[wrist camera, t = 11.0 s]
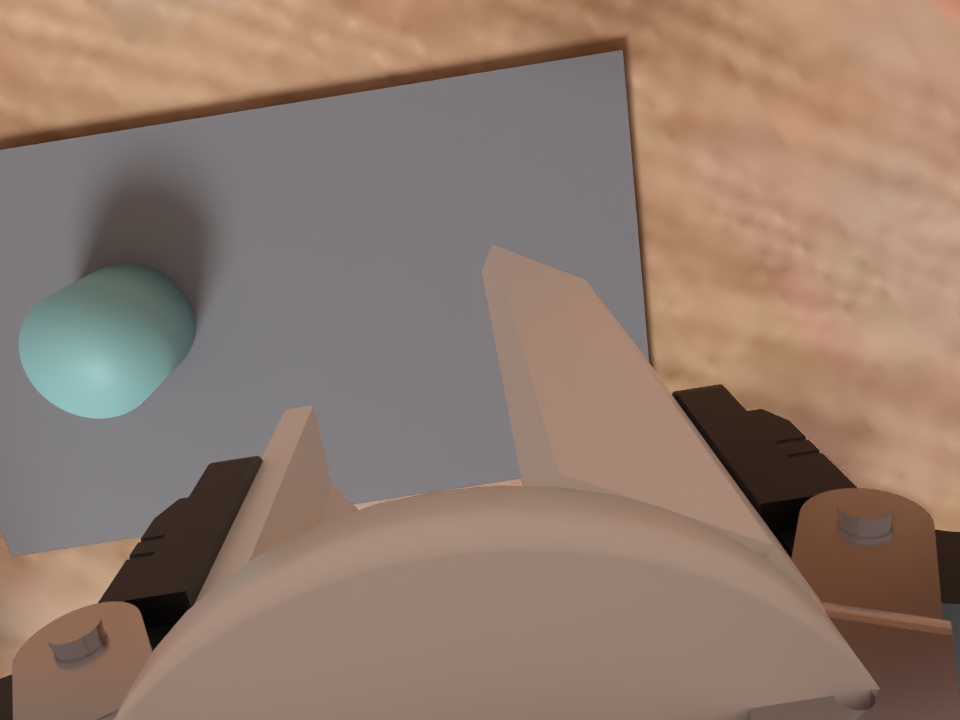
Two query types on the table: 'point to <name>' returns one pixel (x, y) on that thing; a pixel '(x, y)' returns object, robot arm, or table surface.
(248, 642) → the cover cup
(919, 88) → the table surface
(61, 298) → the teal egg-shaped capsule
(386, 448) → the mat
